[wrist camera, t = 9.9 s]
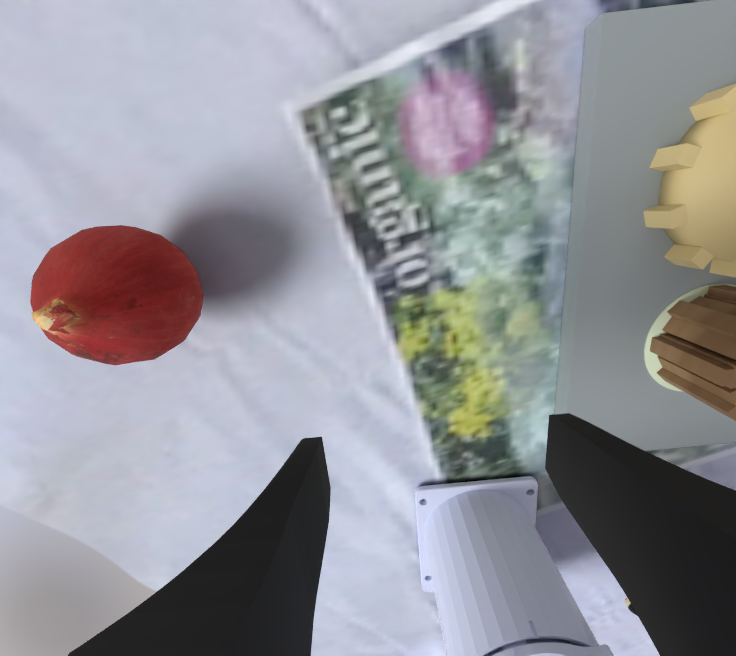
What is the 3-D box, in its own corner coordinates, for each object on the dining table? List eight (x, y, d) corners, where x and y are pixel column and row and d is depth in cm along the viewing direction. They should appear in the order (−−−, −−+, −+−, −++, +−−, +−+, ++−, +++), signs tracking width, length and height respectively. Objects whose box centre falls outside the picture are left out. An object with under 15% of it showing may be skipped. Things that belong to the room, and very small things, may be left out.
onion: (216, 343, 20) (125, 426, 12) (111, 313, 19) (-54, 381, 12) (236, 243, 18) (145, 267, 10) (121, 206, 17) (-65, 204, 10)
